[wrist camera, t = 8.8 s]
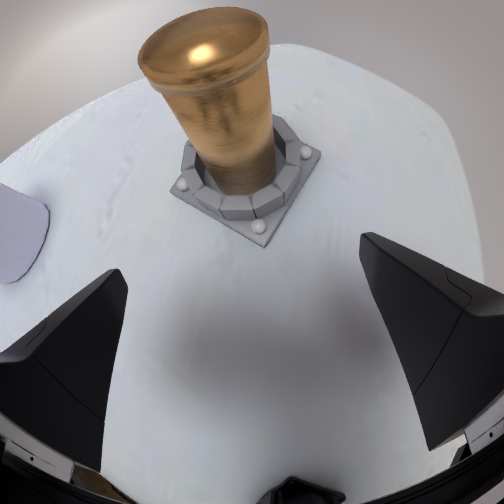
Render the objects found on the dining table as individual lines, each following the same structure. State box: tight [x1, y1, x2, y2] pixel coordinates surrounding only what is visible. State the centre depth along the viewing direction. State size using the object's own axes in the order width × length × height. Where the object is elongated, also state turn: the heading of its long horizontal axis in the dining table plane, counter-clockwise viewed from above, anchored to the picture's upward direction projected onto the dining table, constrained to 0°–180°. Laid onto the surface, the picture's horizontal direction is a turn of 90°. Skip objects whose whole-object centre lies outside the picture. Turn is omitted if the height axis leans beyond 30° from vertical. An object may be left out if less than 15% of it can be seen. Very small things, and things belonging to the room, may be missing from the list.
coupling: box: [138, 7, 276, 196], centre depth 14 cm, size 5×5×13 cm
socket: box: [170, 114, 321, 248], centre depth 20 cm, size 9×9×3 cm
